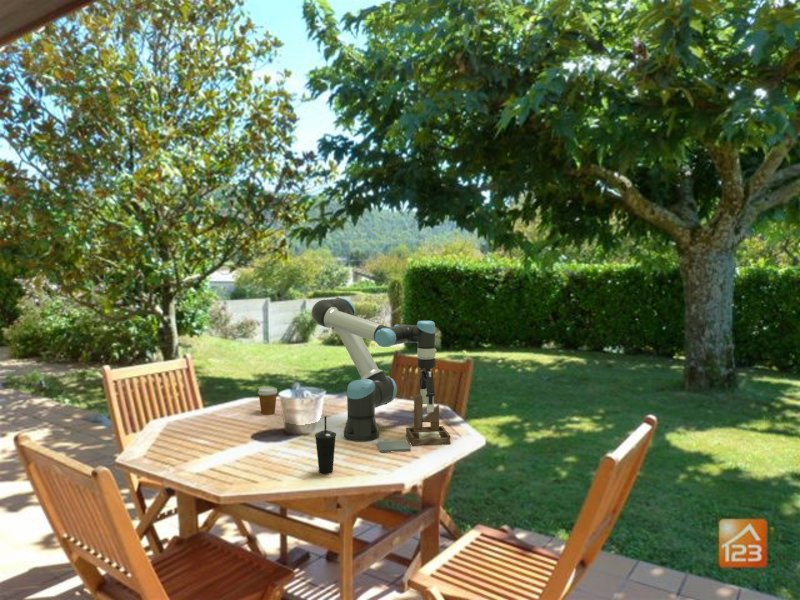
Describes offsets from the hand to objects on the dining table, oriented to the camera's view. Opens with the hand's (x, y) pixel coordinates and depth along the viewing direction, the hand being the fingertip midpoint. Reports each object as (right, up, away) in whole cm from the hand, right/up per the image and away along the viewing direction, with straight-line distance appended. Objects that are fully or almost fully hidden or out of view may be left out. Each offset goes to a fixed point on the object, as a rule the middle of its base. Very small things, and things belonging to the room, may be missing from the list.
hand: (426, 407), depth 246 cm
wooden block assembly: (0, -13, +1) cm, 13 cm away
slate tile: (-14, -14, -12) cm, 23 cm away
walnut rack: (0, -13, -2) cm, 13 cm away
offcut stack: (+1, -14, -5) cm, 14 cm away
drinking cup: (-38, -16, -38) cm, 56 cm away
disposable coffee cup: (-76, -10, +40) cm, 87 cm away
